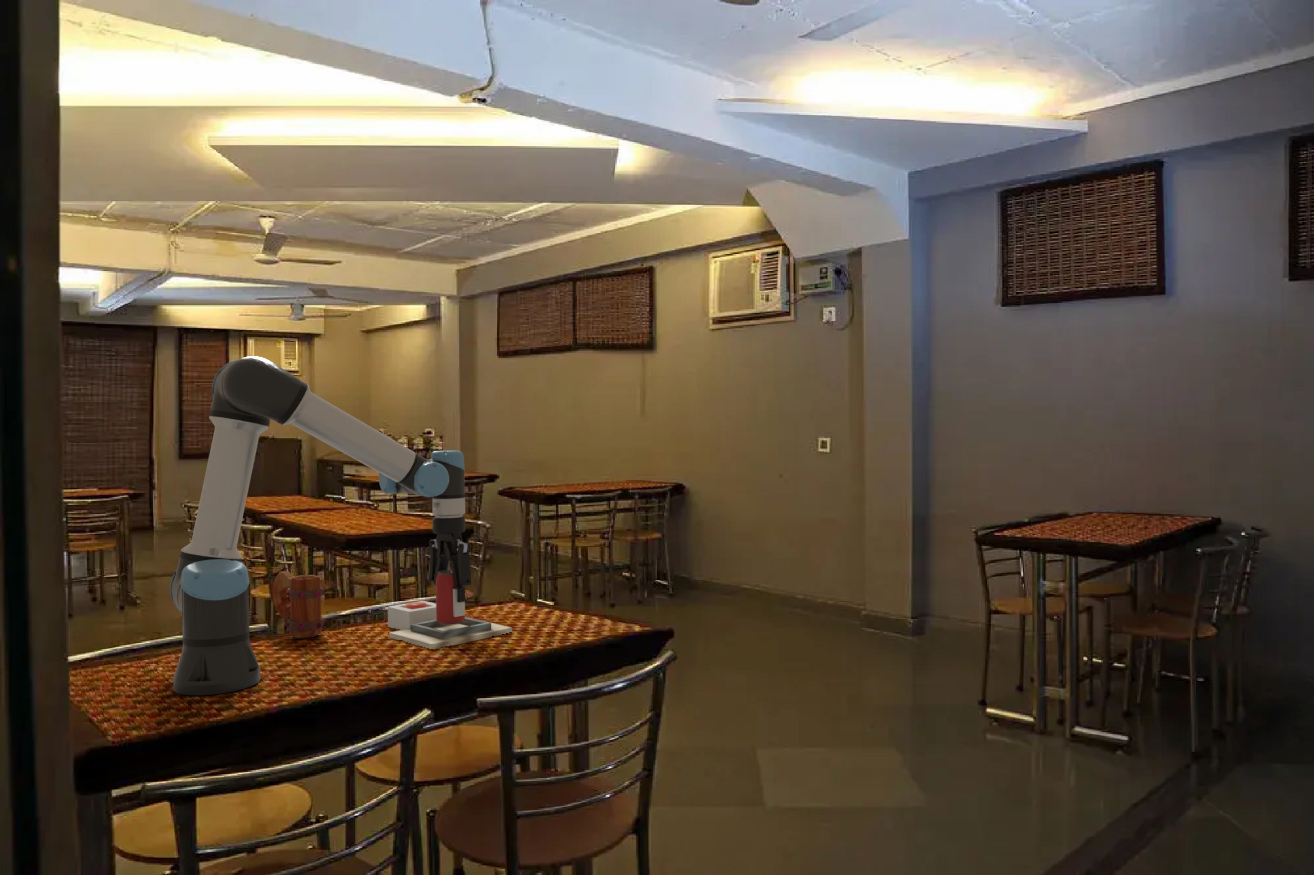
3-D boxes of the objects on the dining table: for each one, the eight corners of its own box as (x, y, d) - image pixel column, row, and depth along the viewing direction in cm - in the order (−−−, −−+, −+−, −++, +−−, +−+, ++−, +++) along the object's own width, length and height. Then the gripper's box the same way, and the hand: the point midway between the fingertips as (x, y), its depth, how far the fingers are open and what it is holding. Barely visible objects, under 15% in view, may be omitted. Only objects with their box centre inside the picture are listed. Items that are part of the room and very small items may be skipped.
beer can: (433, 620, 222) (432, 570, 222) (461, 618, 224) (460, 568, 224) (439, 626, 216) (438, 574, 216) (467, 623, 218) (467, 571, 218)
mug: (334, 634, 223) (332, 571, 222) (306, 642, 215) (305, 577, 215) (290, 629, 229) (289, 568, 229) (263, 636, 222) (261, 573, 222)
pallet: (431, 649, 206) (431, 637, 206) (389, 637, 218) (389, 626, 218) (512, 632, 222) (511, 621, 222) (468, 622, 234) (468, 611, 234)
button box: (409, 632, 223) (409, 611, 223) (388, 626, 230) (387, 606, 230) (445, 625, 231) (445, 605, 231) (423, 620, 238) (423, 600, 238)
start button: (413, 621, 227) (413, 606, 227) (402, 618, 230) (402, 604, 230) (430, 617, 231) (430, 603, 231) (419, 615, 234) (419, 601, 234)
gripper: (412, 515, 224) (414, 610, 224) (458, 519, 210) (460, 622, 211) (439, 512, 229) (441, 606, 229) (486, 517, 216) (488, 616, 216)
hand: (450, 613), depth 220 cm, fingers closed on beer can, 6 cm apart
